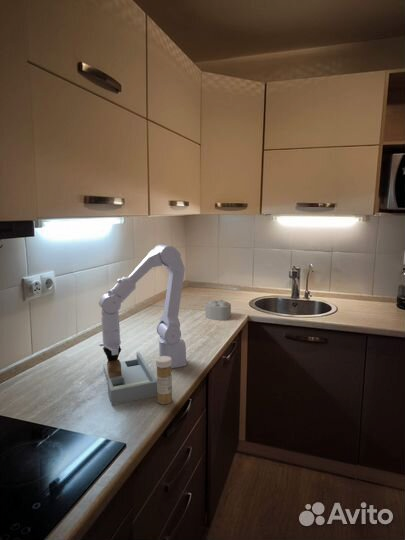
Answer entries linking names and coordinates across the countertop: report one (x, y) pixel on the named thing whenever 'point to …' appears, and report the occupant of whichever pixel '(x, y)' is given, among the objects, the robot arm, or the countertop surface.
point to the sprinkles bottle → (164, 379)
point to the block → (114, 368)
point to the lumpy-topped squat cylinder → (218, 310)
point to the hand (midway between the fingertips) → (112, 367)
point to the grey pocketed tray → (131, 382)
